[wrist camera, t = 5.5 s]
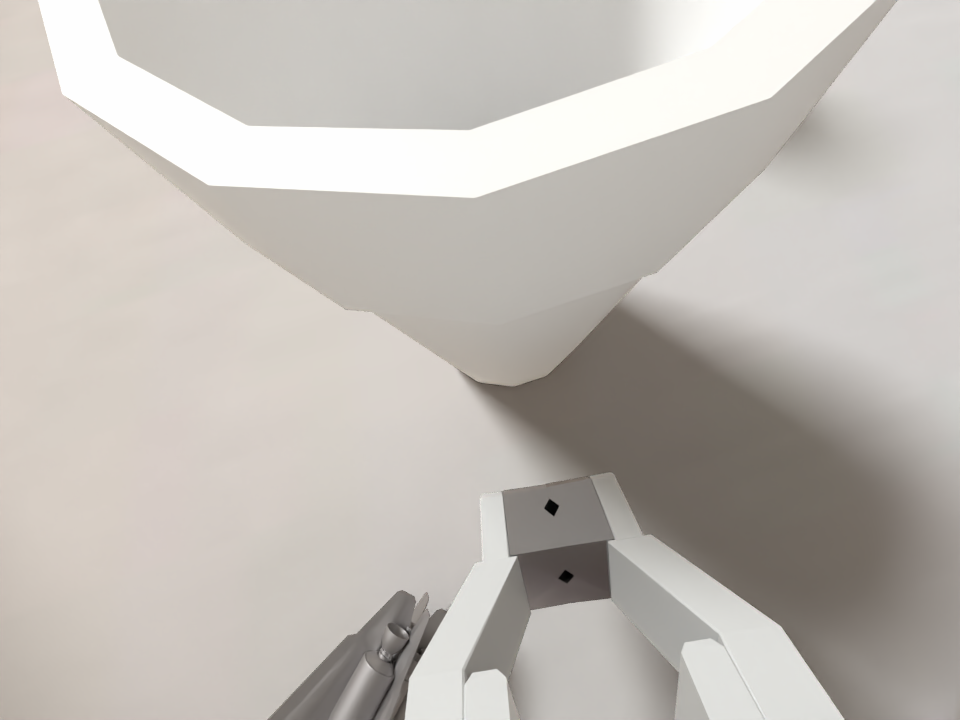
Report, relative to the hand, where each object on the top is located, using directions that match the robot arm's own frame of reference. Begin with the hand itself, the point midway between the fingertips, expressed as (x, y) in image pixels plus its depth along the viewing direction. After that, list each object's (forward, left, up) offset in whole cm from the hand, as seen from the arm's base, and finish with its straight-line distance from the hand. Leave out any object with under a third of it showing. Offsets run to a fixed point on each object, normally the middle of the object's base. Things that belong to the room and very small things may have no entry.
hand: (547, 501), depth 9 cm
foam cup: (0, +7, -6) cm, 9 cm away
